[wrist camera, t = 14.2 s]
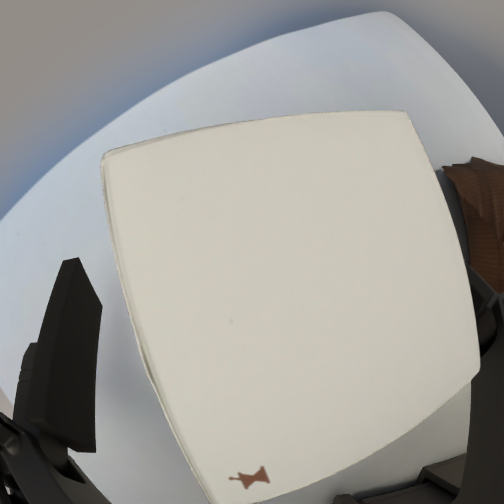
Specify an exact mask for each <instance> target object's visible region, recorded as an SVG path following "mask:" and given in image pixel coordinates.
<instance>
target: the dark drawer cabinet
mask: <svg viewBox="0 0 504 504" xmlns="http://www.w3.org/2000/svg"><path fill="white" fill-rule="evenodd" d="M465 460H466V453H465V454H462V455H460V456H457V457H454V458H452V459H449V460H446V461H443V462H440V463H437V464H433V465H430V466H427V467H423V469H422V471H421V473H420V475H419V477H418V479H417V481H416V483H415V485H414V486H417V485H420V484H423V483H426V482H429V481H433V482H434V483H436V484H437V485H439V486H441V487H442V488H444V489H446V490H447V491H449V492H451V493H452V494H454V495H456V496H458V494H459V491H460V487H461V482H462V477H463V472H464V466H465Z"/></svg>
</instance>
